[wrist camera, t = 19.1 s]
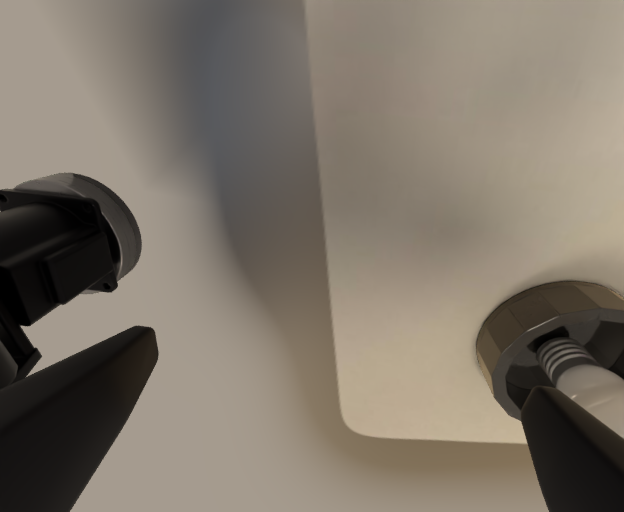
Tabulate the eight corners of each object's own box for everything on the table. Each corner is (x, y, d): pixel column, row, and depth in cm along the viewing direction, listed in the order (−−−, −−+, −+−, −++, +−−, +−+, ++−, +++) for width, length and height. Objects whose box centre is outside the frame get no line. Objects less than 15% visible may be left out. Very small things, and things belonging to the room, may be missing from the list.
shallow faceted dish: (459, 383, 24) (473, 418, 22) (502, 272, 20) (525, 298, 17) (593, 402, 24) (624, 440, 21) (667, 291, 19) (718, 322, 17)
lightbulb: (593, 382, 22) (783, 607, 12) (494, 380, 23) (599, 588, 13) (622, 305, 19) (896, 514, 10) (509, 307, 20) (654, 499, 11)
